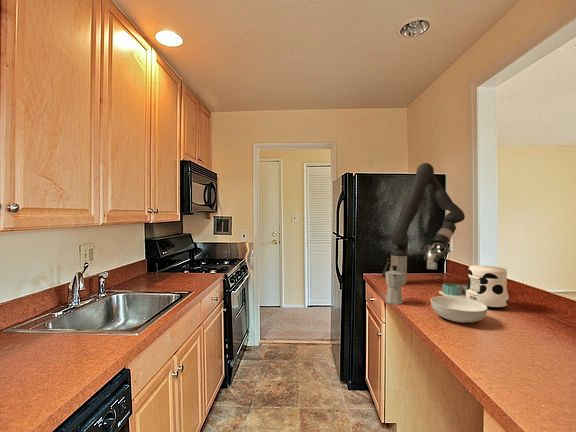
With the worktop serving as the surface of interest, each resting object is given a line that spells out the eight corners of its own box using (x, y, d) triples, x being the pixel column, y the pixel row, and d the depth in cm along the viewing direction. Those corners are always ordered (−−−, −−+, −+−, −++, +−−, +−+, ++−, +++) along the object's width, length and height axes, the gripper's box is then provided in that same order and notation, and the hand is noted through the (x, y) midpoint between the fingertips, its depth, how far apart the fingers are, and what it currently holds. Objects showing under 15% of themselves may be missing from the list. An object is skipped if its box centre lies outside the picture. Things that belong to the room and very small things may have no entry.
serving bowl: (456, 330, 120) (457, 312, 119) (419, 312, 140) (420, 297, 140) (500, 325, 125) (500, 308, 125) (458, 309, 145) (458, 294, 145)
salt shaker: (429, 269, 170) (429, 250, 169) (425, 267, 175) (425, 249, 174) (438, 269, 170) (438, 250, 169) (434, 267, 175) (434, 249, 174)
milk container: (508, 304, 154) (508, 267, 154) (509, 313, 140) (509, 273, 140) (467, 298, 164) (467, 263, 164) (464, 306, 149) (465, 268, 149)
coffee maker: (403, 306, 148) (404, 268, 148) (384, 304, 151) (384, 267, 151) (403, 298, 163) (403, 263, 162) (385, 296, 165) (385, 262, 165)
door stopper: (395, 276, 218) (396, 258, 218) (396, 277, 212) (396, 260, 212) (382, 275, 221) (382, 257, 221) (382, 276, 215) (382, 259, 215)
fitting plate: (448, 298, 163) (448, 287, 163) (438, 292, 174) (439, 282, 174) (482, 299, 163) (482, 288, 163) (470, 293, 174) (470, 283, 174)
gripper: (428, 232, 182) (415, 254, 175) (453, 234, 170) (439, 258, 163) (433, 241, 185) (420, 263, 178) (458, 243, 173) (445, 267, 167)
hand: (430, 261), depth 171 cm, fingers closed on salt shaker, 5 cm apart
